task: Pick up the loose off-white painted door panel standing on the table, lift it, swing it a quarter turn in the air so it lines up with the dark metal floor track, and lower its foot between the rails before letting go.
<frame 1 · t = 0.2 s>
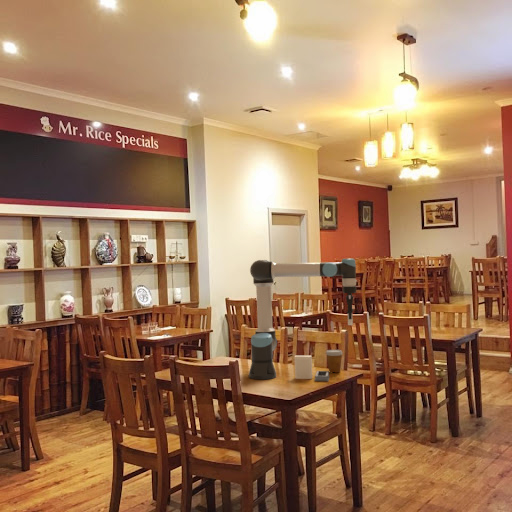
hand: (350, 323, 308), 28 cm above the table, fingers open, 13 cm apart
track: (322, 378, 296), on the table
door panel: (303, 378, 297), on the table
disposable coffee cup: (334, 372, 312), on the table
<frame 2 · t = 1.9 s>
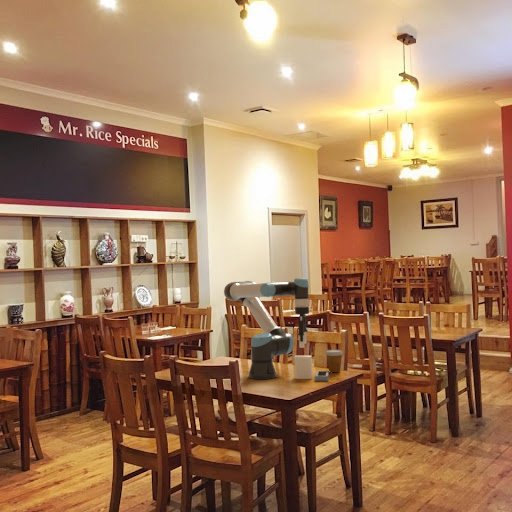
hand: (303, 345, 298), 18 cm above the table, fingers open, 13 cm apart
nothing on the table moved.
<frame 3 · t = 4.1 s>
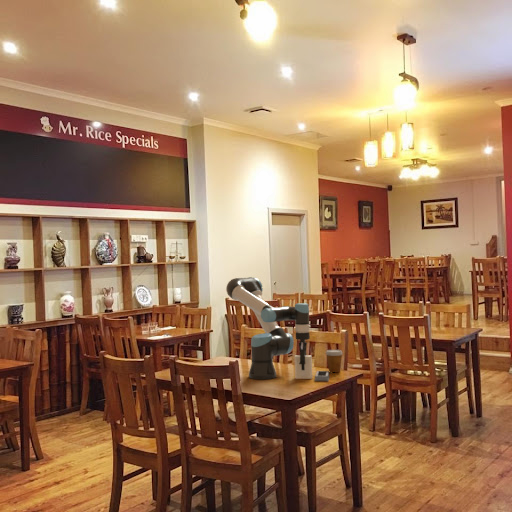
hand: (303, 375, 297), 2 cm above the table, fingers closed on door panel, 3 cm apart
door panel: (303, 378, 298), on the table, touching gripper
everything else where it was.
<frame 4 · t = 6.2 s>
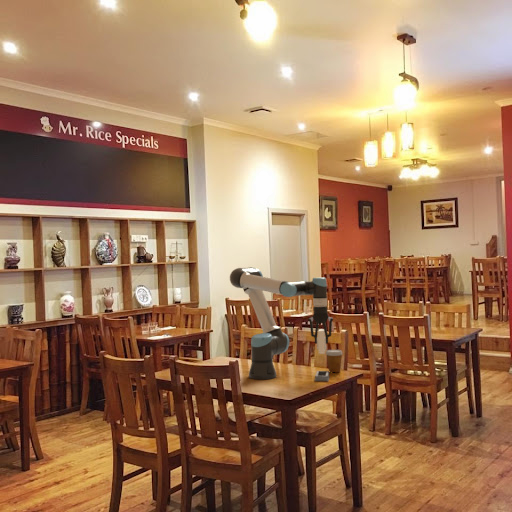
hand: (321, 349, 296), 16 cm above the table, fingers closed on door panel, 3 cm apart
door panel: (322, 352, 296), point 14 cm above the table, touching gripper
everything else where it was.
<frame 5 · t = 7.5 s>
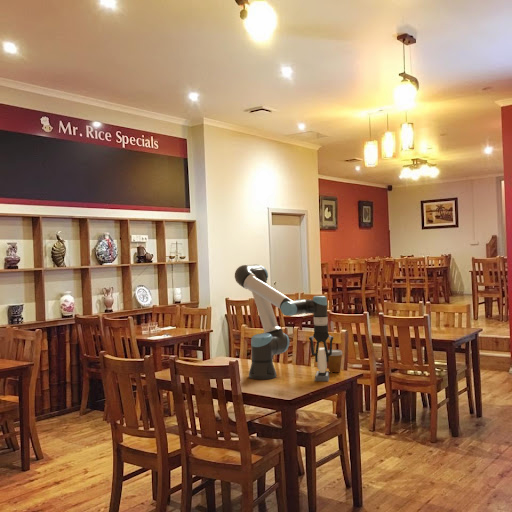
hand: (322, 368, 296), 5 cm above the table, fingers closed on door panel, 3 cm apart
door panel: (322, 371, 296), point 4 cm above the table, touching gripper
everything else where it was.
when the fingers open (4 cm above the table, at t = 8.3 s): door panel drops 2 cm, resting on track.
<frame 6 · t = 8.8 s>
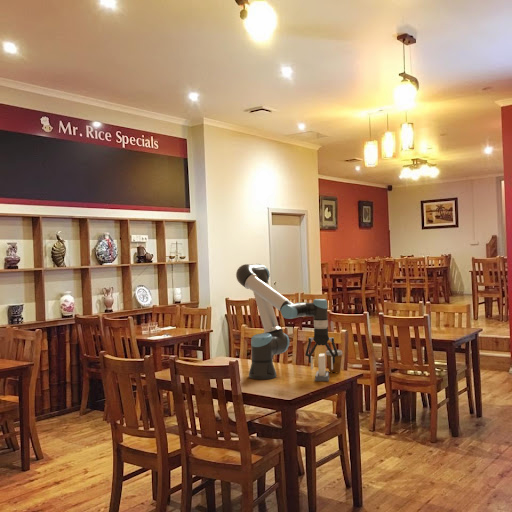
hand: (322, 369, 296), 5 cm above the table, fingers open, 10 cm apart
door panel: (322, 377, 296), point 1 cm above the table, touching track
everything else where it was.
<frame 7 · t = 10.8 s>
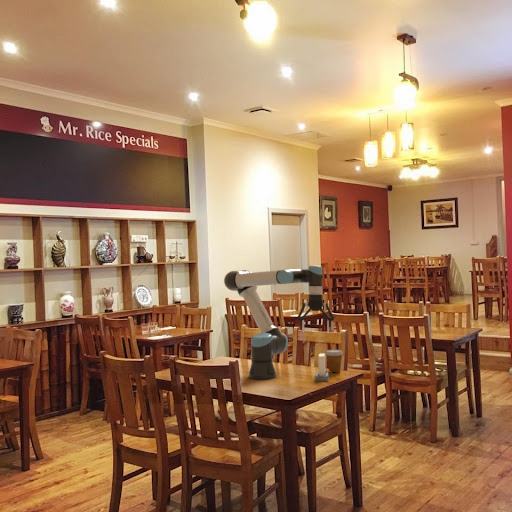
hand: (315, 332, 300), 24 cm above the table, fingers open, 13 cm apart
nothing on the table moved.
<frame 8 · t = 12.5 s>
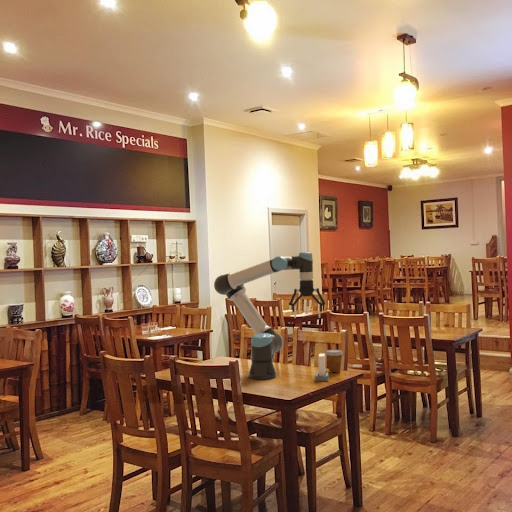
hand: (307, 317, 307), 32 cm above the table, fingers open, 13 cm apart
nothing on the table moved.
at the end: door panel 0.1 cm off-centre on the track, point 0.6 cm above the track's base; door panel tilted 0°; the gripper is holding nothing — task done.
